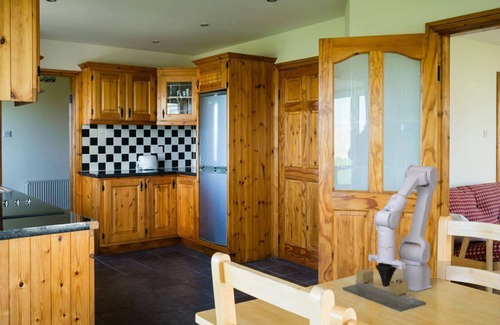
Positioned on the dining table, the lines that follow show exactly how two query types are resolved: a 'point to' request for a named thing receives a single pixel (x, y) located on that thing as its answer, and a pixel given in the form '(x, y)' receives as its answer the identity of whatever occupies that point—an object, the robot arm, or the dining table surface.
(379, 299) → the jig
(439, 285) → the dining table surface
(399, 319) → the dining table surface
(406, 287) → the tan holed block
